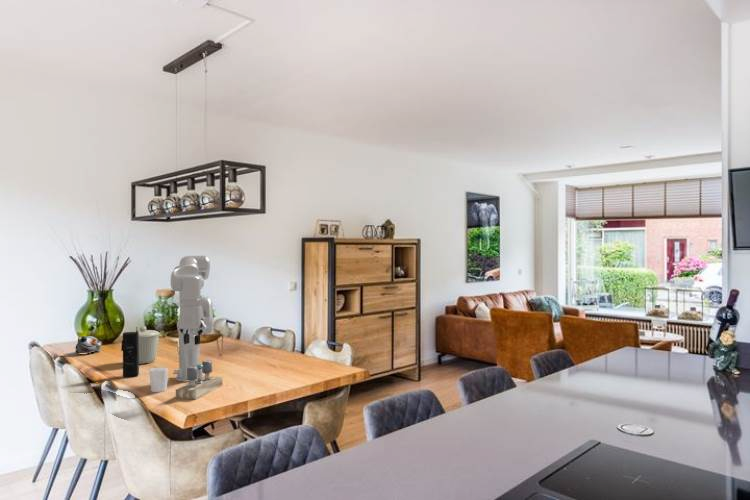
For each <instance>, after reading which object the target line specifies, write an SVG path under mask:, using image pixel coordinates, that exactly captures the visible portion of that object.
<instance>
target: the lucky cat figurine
mask: <svg viewBox="0 0 750 500" xmlns="http://www.w3.org/2000/svg"><path fill="white" fill-rule="evenodd" d="M102 345H103V343H102V341H100V340H98V338H96V337H94V336H91V335H90V336H89V335H88V336H82V337H81V336H78V338H77V343H76V345H75V353H77V354H78V353H89V354H92V353H91V352H94V353H96V352H95V351H100V352H101V346H102Z"/></svg>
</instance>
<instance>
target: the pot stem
mask: <svg viewBox="0 0 750 500" xmlns="http://www.w3.org/2000/svg"><path fill="white" fill-rule="evenodd" d="M197 368H198V381H197V384H202V383H203V381H202V375H203V373H202V368H203V365H202V363H201V364H200V363H199V365H197Z"/></svg>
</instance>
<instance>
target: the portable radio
mask: <svg viewBox="0 0 750 500" xmlns="http://www.w3.org/2000/svg"><path fill="white" fill-rule="evenodd" d="M135 331H136V332H134V331H124V332H123V333H122V340H121V350H120V351H121V352H122V377H123V378H134V377H135V376H136V377H138V376H139V375H140V364H139V332H138V331H139V330H138V327H136V330H135Z"/></svg>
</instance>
